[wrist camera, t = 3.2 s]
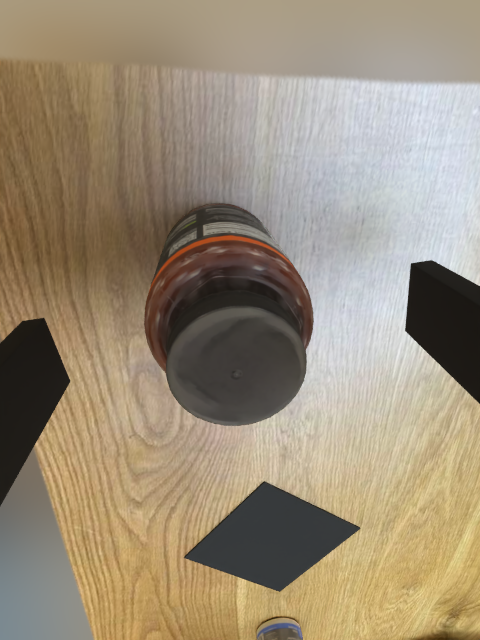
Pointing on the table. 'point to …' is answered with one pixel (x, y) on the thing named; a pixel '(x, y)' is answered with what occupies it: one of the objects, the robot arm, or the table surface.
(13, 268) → the table surface
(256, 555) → the mat
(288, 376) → the supplement bottle
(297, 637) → the pill bottle
